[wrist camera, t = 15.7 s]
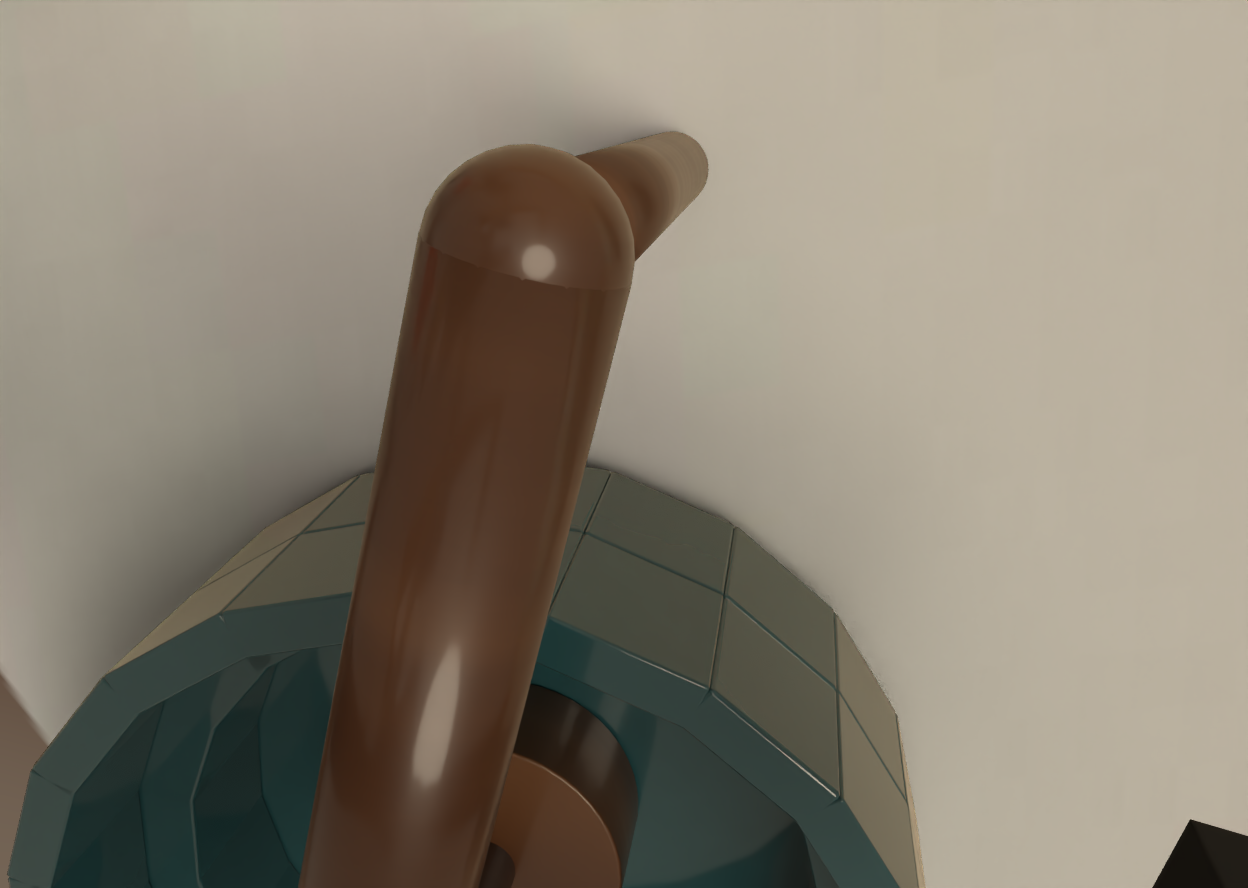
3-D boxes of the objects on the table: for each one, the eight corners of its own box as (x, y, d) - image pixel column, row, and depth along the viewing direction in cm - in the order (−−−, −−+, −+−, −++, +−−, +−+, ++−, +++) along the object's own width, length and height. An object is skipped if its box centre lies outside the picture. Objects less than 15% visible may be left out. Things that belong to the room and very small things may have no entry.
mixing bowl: (58, 641, 24) (-165, 822, 19) (657, 298, 19) (595, 407, 14) (450, 1123, 28) (359, 1397, 22) (1040, 936, 23) (1114, 1228, 17)
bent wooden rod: (538, 79, 18) (148, 51, 7) (839, 159, 18) (919, 259, 7) (375, 852, 24) (7, 1522, 13) (604, 924, 23) (436, 1676, 12)
